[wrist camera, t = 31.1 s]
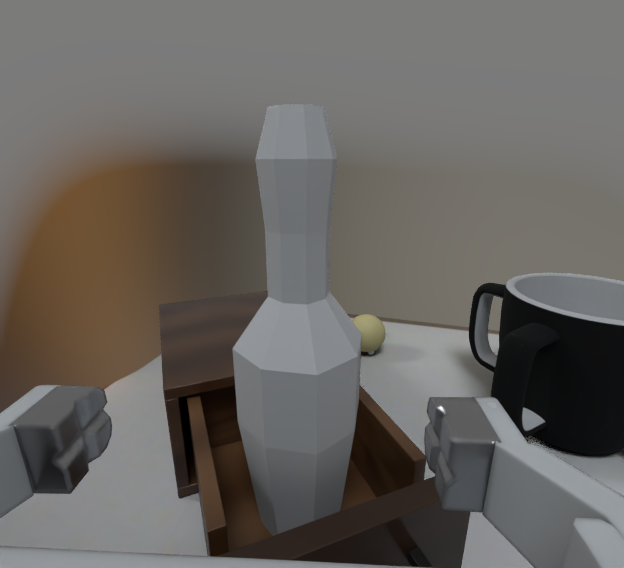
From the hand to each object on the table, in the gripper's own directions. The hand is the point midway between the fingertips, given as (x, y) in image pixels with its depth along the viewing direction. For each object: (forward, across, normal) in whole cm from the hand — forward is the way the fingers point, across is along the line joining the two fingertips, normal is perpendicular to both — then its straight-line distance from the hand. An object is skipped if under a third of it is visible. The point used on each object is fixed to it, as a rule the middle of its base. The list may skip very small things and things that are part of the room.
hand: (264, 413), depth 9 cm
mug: (+21, -22, +16) cm, 35 cm away
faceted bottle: (+9, 0, +14) cm, 17 cm away
